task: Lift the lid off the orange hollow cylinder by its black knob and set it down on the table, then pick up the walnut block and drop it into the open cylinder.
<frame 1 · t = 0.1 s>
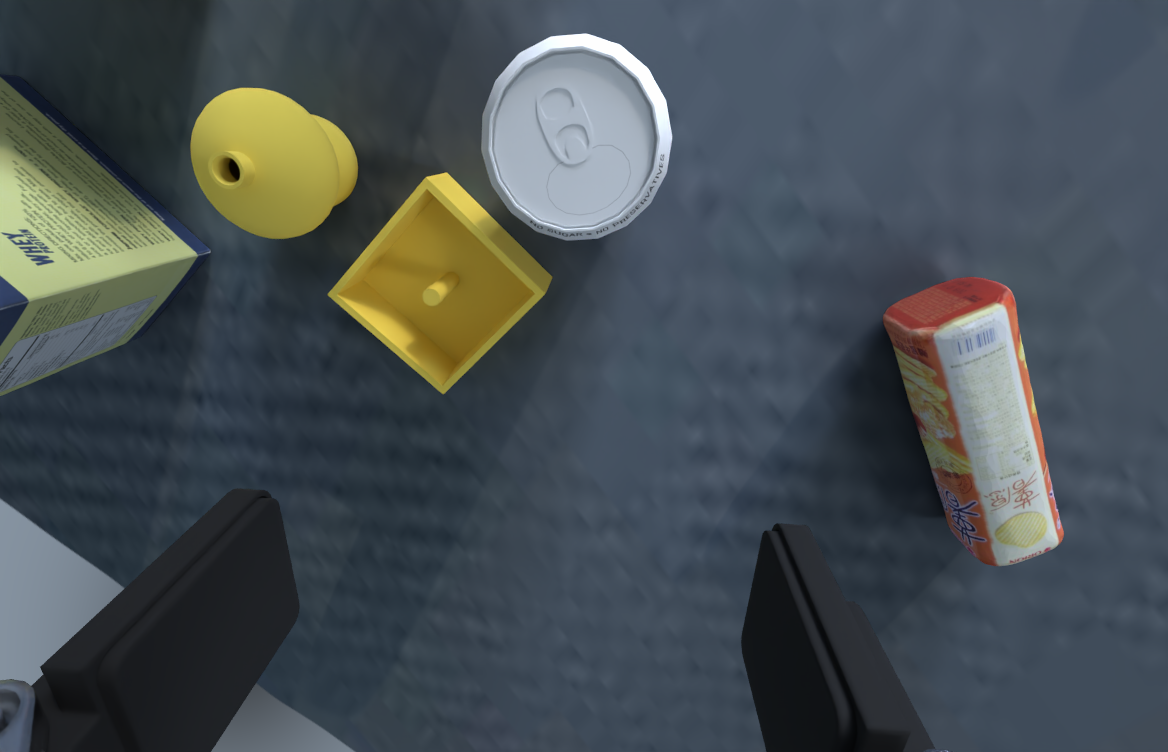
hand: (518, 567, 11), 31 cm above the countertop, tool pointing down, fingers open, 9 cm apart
protein box: (87, 217, 40), on the countertop
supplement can: (588, 141, 37), on the countertop
bath set: (399, 226, 40), on the countertop
snack package: (950, 406, 43), on the countertop
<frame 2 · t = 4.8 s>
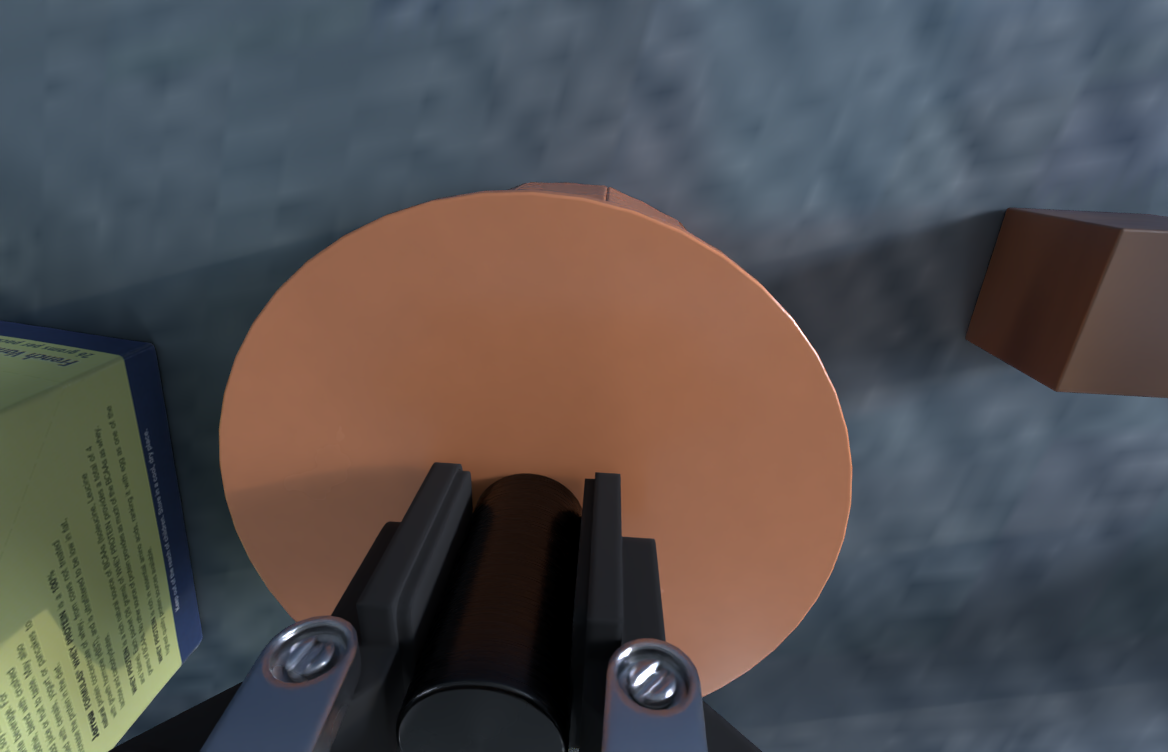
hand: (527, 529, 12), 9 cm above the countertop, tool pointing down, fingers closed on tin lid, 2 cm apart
protein box: (68, 486, 24), on the countertop
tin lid: (533, 504, 13), point 9 cm above the countertop, touching gripper, orange hollow cylinder
block: (1052, 279, 19), on the countertop
orange hollow cylinder: (563, 364, 21), on the countertop
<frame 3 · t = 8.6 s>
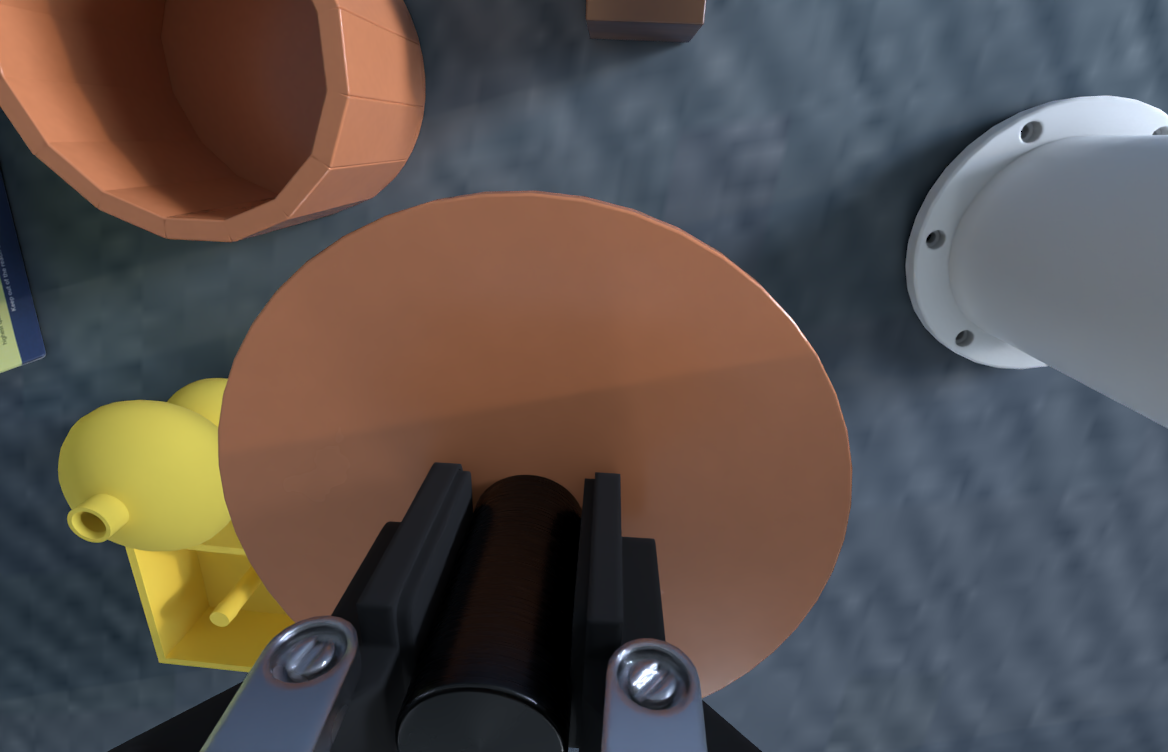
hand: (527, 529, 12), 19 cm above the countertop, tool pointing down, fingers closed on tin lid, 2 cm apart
bath set: (261, 494, 36), on the countertop
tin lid: (532, 506, 13), point 18 cm above the countertop, touching gripper
orange hollow cylinder: (291, 72, 26), on the countertop
when the fingers open (1 cm above the countertop, at t = 12.6 s): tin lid stays where it is, point 1 cm above the countertop.
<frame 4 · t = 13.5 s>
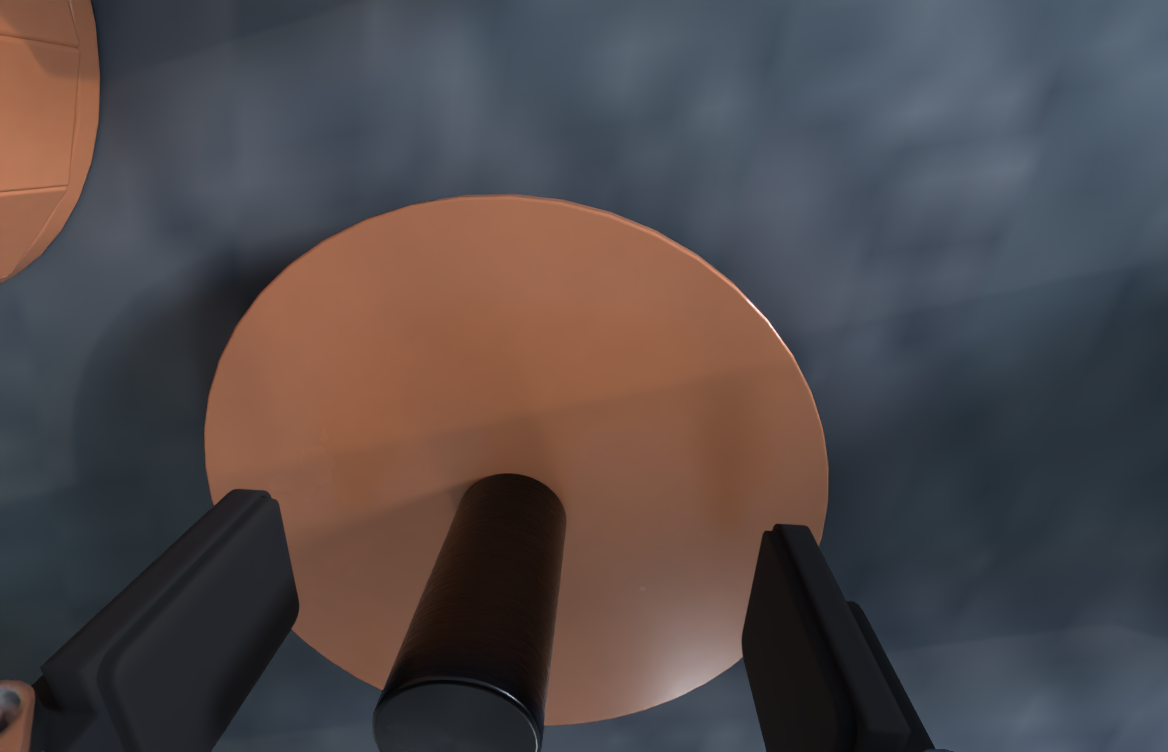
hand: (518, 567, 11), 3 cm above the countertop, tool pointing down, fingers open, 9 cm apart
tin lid: (516, 504, 13), point 1 cm above the countertop
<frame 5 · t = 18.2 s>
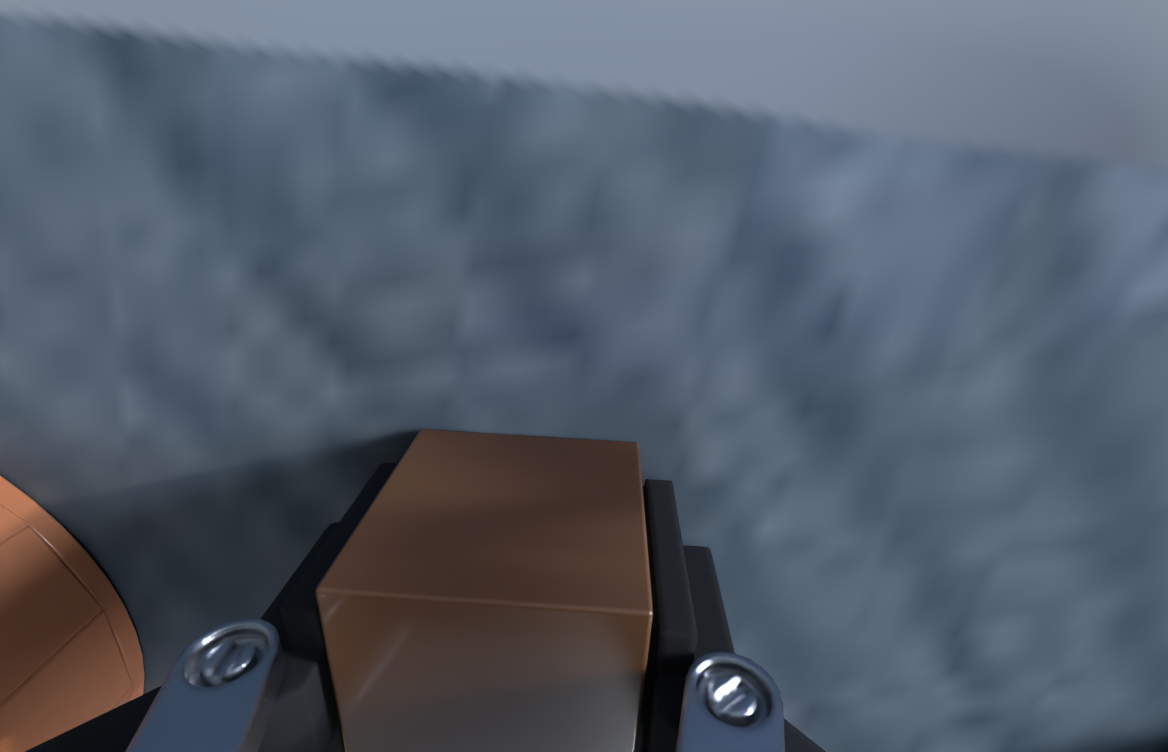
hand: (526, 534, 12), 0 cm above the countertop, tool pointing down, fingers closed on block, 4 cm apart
block: (528, 524, 12), on the countertop, touching gripper
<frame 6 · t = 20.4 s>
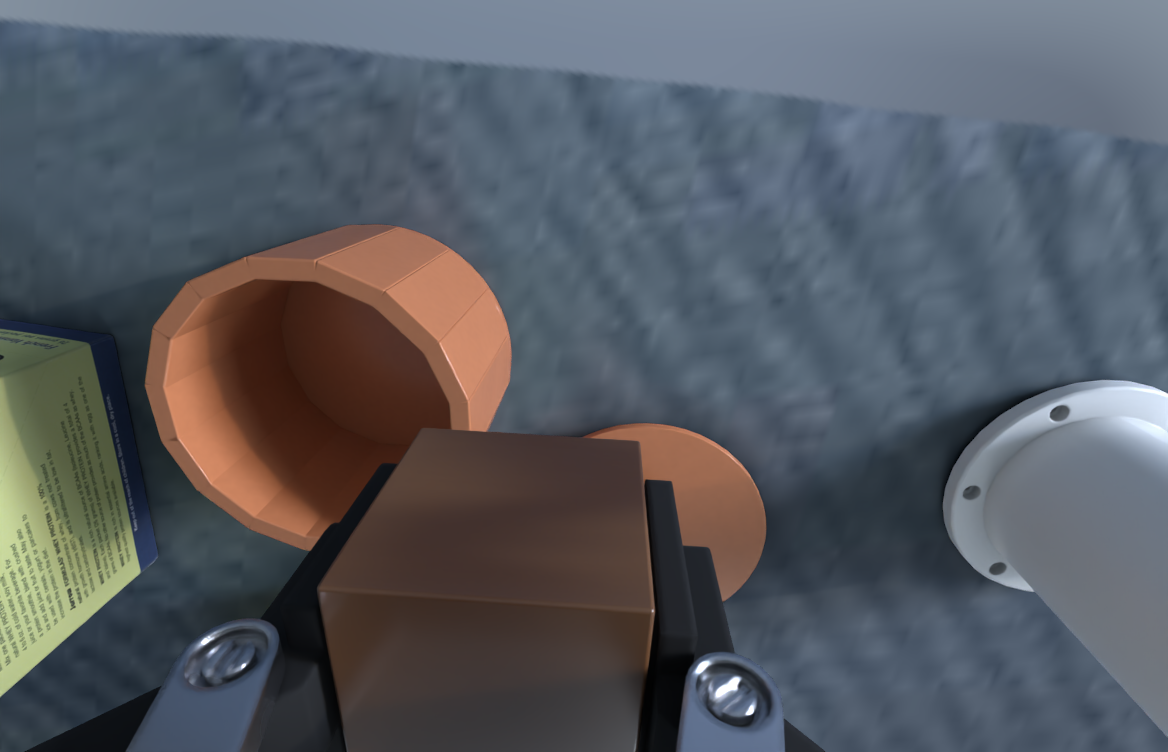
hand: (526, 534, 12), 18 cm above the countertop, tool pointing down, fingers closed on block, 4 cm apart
protein box: (57, 440, 33), on the countertop
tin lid: (642, 528, 32), point 1 cm above the countertop
block: (529, 522, 12), point 17 cm above the countertop, touching gripper
orange hollow cylinder: (392, 347, 30), on the countertop
when the fingers open (13 cm above the countertop, at t = 22.9 s): block drops 12 cm, resting on orange hollow cylinder.
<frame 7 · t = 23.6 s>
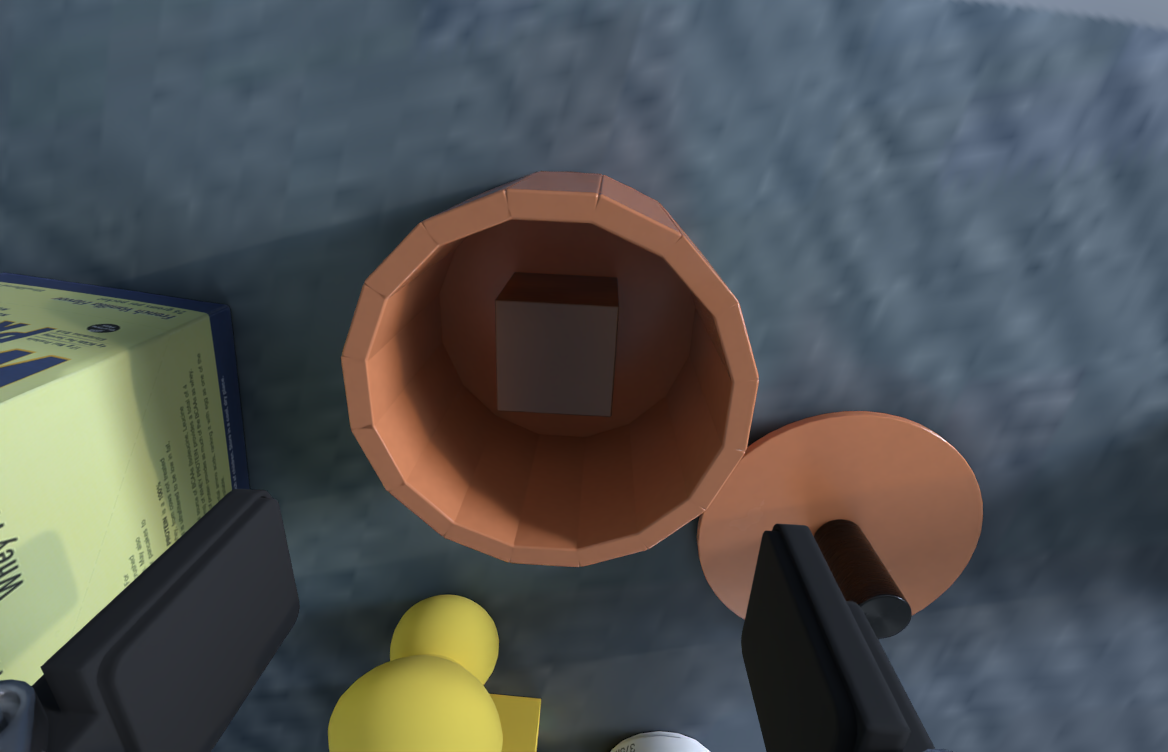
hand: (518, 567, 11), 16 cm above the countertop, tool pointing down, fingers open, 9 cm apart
protein box: (148, 430, 29), on the countertop
bath set: (458, 686, 35), on the countertop
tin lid: (833, 531, 28), point 1 cm above the countertop
block: (564, 324, 25), resting on orange hollow cylinder
orange hollow cylinder: (566, 321, 25), on the countertop
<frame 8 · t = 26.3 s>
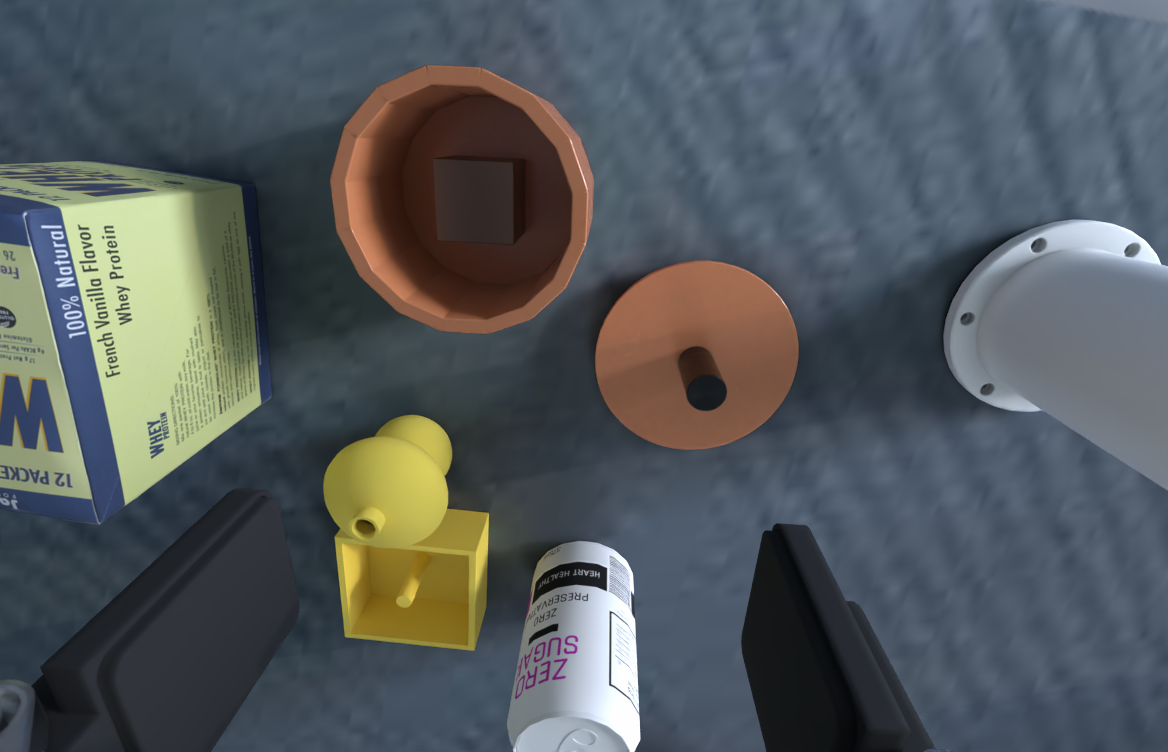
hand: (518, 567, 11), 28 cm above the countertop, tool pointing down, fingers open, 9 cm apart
protein box: (193, 285, 39), on the countertop
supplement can: (584, 573, 47), on the countertop
bath set: (425, 503, 45), on the countertop
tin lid: (694, 359, 39), point 1 cm above the countertop
block: (490, 195, 35), resting on orange hollow cylinder
orange hollow cylinder: (493, 194, 36), on the countertop
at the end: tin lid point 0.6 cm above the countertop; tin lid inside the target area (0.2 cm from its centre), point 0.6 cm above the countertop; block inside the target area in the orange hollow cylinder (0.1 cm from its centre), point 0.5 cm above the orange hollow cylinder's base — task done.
